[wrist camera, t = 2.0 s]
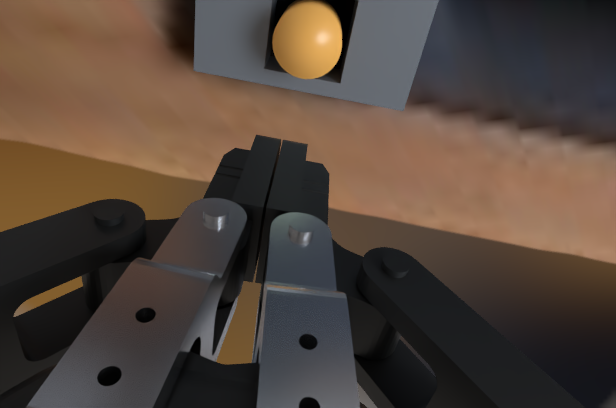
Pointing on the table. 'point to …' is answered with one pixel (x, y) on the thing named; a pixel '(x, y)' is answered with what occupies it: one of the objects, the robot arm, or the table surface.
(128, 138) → the table surface
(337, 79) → the button panel
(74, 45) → the table surface
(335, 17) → the orange button
